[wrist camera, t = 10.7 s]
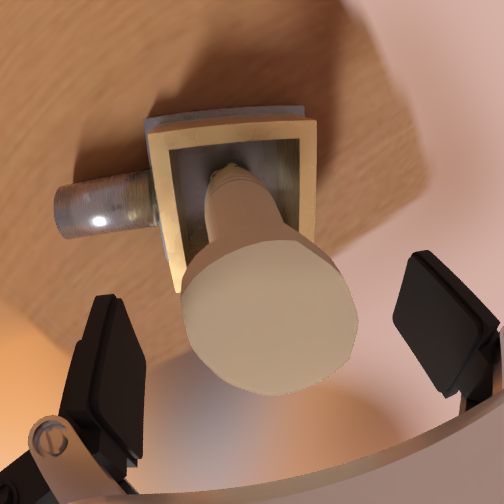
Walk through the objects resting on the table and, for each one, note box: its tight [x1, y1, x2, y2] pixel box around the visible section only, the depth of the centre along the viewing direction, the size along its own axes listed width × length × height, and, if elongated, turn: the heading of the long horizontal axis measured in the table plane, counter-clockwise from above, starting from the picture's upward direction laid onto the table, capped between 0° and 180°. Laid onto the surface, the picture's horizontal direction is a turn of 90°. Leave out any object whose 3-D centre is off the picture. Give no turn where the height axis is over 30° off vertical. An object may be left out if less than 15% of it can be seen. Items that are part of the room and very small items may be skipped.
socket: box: [54, 104, 317, 293], centre depth 20 cm, size 11×18×6 cm, turn 93°
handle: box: [180, 163, 358, 396], centre depth 16 cm, size 5×6×15 cm
